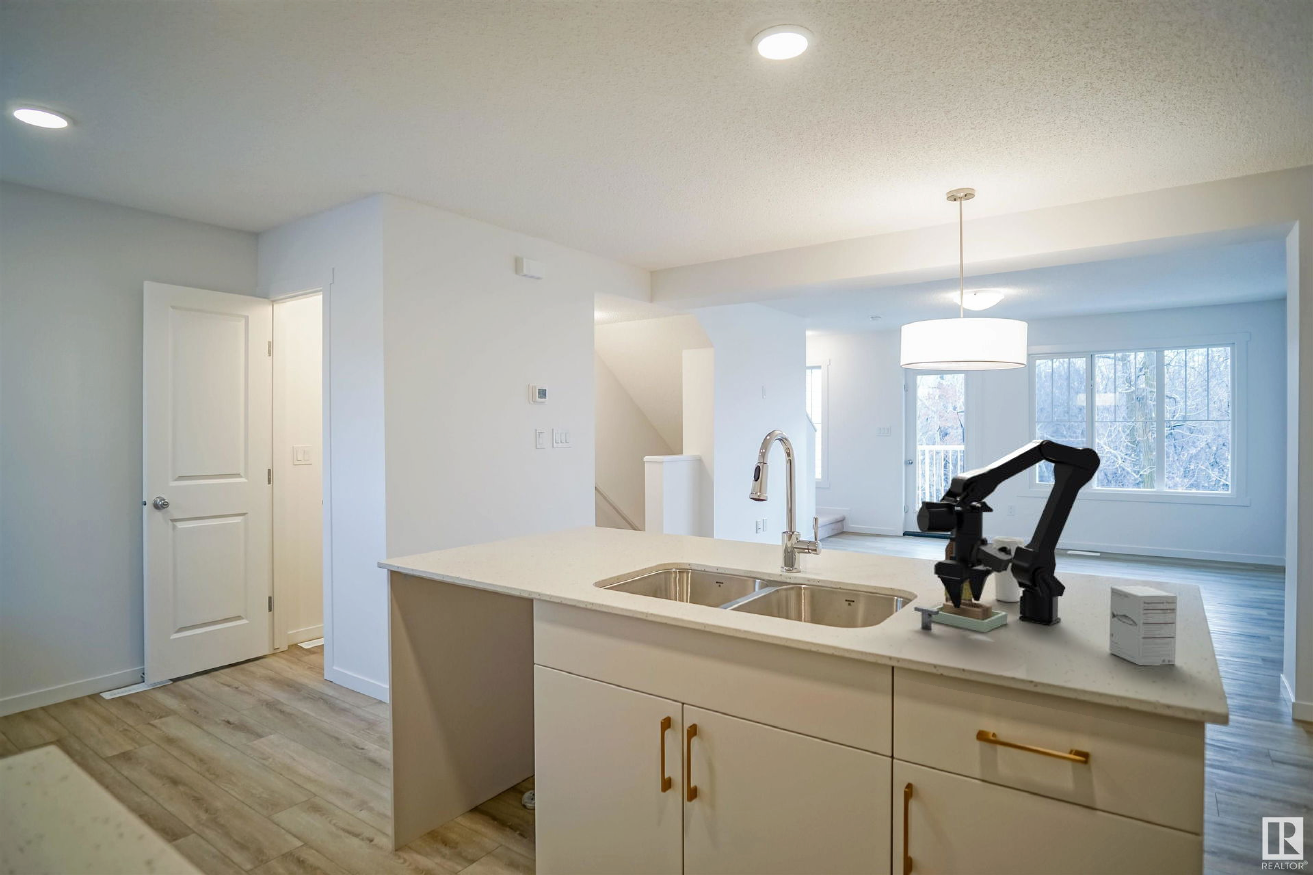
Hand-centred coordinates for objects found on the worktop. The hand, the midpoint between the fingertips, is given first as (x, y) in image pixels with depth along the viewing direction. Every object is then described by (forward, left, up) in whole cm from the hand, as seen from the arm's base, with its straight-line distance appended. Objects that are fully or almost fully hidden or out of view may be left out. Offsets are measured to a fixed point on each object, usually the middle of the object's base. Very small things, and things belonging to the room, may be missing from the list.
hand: (967, 604), depth 151 cm
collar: (0, 0, -3) cm, 3 cm away
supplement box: (-32, 0, -4) cm, 32 cm away
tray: (0, 0, -4) cm, 4 cm away
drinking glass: (+2, -26, -4) cm, 26 cm away
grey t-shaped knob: (+3, +12, -4) cm, 13 cm away
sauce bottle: (+8, -13, -4) cm, 16 cm away
